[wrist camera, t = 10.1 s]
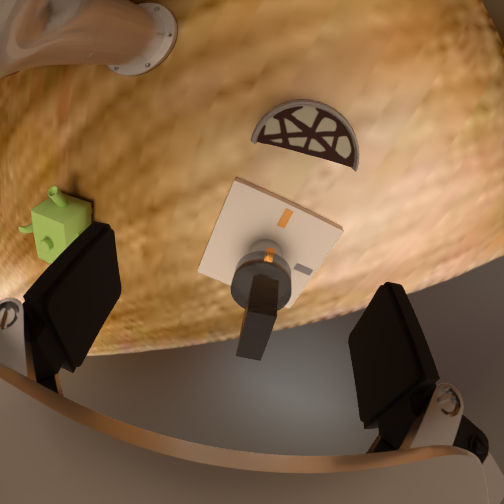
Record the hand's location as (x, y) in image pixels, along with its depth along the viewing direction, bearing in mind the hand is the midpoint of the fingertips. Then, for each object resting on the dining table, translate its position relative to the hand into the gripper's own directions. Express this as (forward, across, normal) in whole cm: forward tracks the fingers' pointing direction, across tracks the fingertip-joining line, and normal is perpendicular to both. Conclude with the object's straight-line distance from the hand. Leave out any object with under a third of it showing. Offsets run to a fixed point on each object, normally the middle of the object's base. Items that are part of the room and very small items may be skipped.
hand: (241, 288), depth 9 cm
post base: (+31, -3, +18) cm, 36 cm away
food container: (+32, -4, -3) cm, 32 cm away
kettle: (+32, +34, +21) cm, 52 cm away
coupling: (+24, -3, +17) cm, 30 cm away
